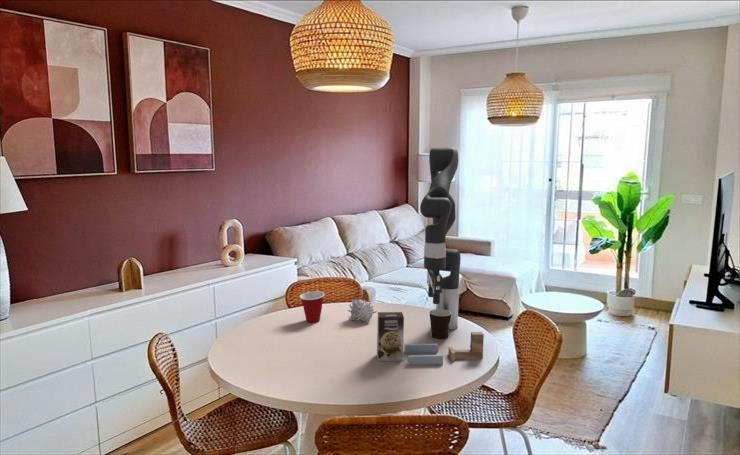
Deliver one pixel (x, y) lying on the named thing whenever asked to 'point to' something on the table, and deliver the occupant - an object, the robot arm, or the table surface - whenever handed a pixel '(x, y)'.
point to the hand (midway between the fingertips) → (433, 300)
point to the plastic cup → (312, 305)
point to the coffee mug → (440, 323)
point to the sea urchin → (361, 310)
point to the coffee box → (390, 336)
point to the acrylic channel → (423, 358)
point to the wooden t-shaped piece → (471, 353)
